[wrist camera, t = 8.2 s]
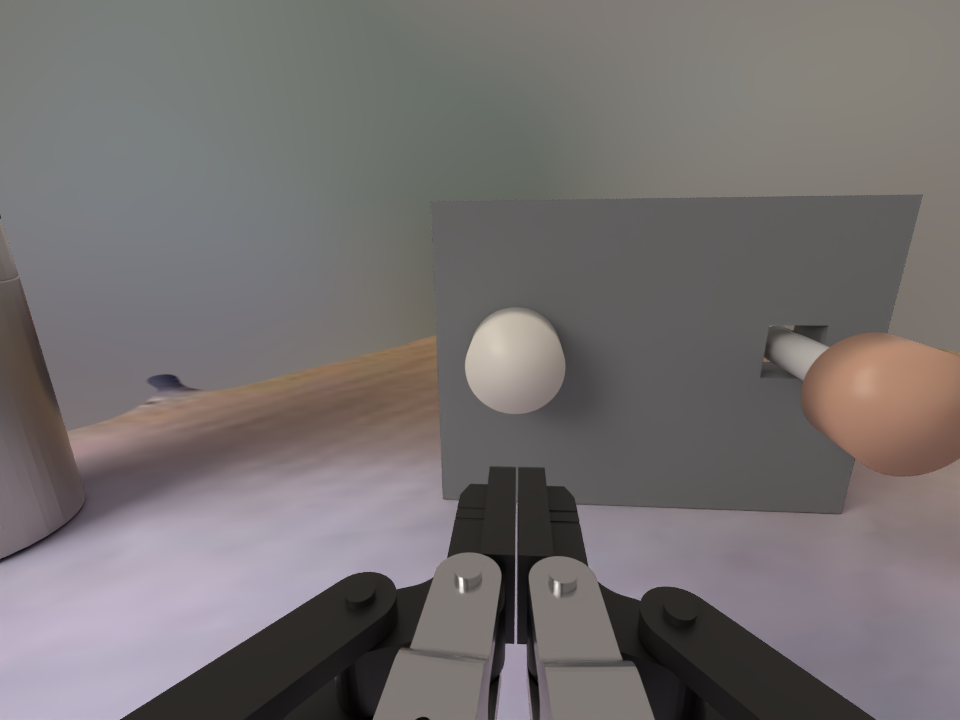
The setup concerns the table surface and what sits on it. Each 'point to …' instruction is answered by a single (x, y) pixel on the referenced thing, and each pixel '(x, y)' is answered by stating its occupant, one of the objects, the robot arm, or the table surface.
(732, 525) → the table surface
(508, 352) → the cream knob
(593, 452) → the knob mount
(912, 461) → the terracotta knob
